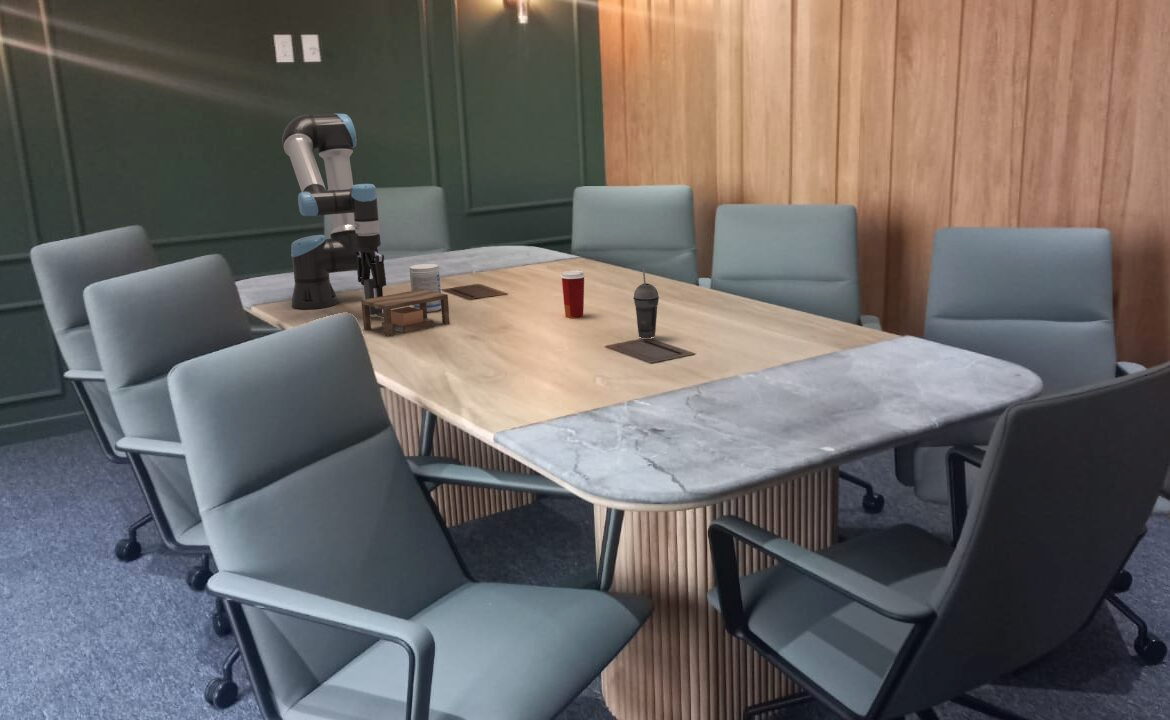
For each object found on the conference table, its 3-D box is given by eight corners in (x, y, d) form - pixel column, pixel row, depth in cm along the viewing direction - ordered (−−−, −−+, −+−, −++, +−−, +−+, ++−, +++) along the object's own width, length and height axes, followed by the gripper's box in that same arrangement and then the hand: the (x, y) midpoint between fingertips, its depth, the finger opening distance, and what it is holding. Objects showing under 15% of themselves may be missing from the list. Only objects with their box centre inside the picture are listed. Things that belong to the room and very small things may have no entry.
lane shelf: (363, 329, 310) (361, 300, 307) (424, 317, 324) (422, 289, 321) (388, 336, 299) (385, 306, 297) (449, 323, 314) (447, 294, 311)
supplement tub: (446, 310, 333) (443, 266, 329) (420, 314, 328) (417, 269, 324) (434, 305, 341) (431, 262, 337) (408, 309, 336) (404, 265, 332)
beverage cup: (642, 341, 283) (641, 271, 278) (629, 336, 290) (627, 267, 284) (664, 338, 287) (663, 268, 281) (651, 333, 293) (650, 264, 288)
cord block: (363, 318, 324) (359, 280, 321) (382, 314, 329) (378, 277, 325) (404, 329, 306) (401, 290, 303) (423, 325, 311) (420, 286, 308)
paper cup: (590, 314, 320) (589, 270, 316) (580, 319, 313) (578, 275, 309) (568, 313, 323) (566, 269, 319) (557, 318, 316) (555, 273, 313)
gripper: (342, 233, 323) (348, 304, 329) (372, 238, 309) (379, 312, 315) (362, 230, 328) (369, 300, 334) (394, 235, 314) (400, 308, 320)
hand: (374, 305), depth 324 cm, fingers open, 6 cm apart
